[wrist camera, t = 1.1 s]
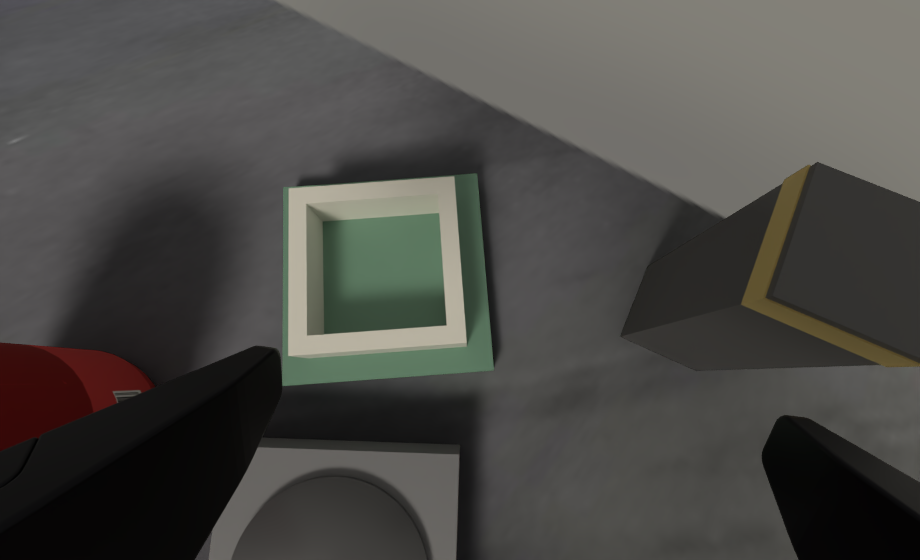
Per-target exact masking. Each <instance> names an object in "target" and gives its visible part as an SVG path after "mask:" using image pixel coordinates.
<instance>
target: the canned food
mask: <svg viewBox="0 0 920 560" xmlns="http://www.w3.org/2000/svg"><path fill="white" fill-rule="evenodd" d="M154 387H155V385H154V384H153V383H152V382H151V380H150V379H149V378H148V376H147V375H146V374H145V373H143V372H142V371H141V370H140V369H139V368H137V367H136V366H135V365H133V364H131V363H129V362H127V361H126V360H124V359H122V358H120V357H118V356H116V355H114V354H110V353H106V352H102V351H97V350H85V349H73V348H60V347H48V346H35V345H23V344H11V343H0V451H2V450H5V449H7V448H9V447H12V446H14V445H16V444H19V443H21V442H24V441H26V440H28V439H31V438H33V437H37V438H38V439H39V437H40V435H41V434H43V433H46V432H48V431H50V430H53V429H55V428H58V427H60V426H63V425H65V424H67V423H70V422H72V421H75V420H77V419H79V418H82V417H84V416H87V415H89V414H91V413H94V412H96V411H99V410H101V409H104V408H106V407H108V406H111V405H113V404H116V403H118V402H120V401H123V400H125V399H128V398H130V397H133V396H135V395H137V394H140V393H142V392H145V391H147V390H149V389H152V388H154Z"/></svg>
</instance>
